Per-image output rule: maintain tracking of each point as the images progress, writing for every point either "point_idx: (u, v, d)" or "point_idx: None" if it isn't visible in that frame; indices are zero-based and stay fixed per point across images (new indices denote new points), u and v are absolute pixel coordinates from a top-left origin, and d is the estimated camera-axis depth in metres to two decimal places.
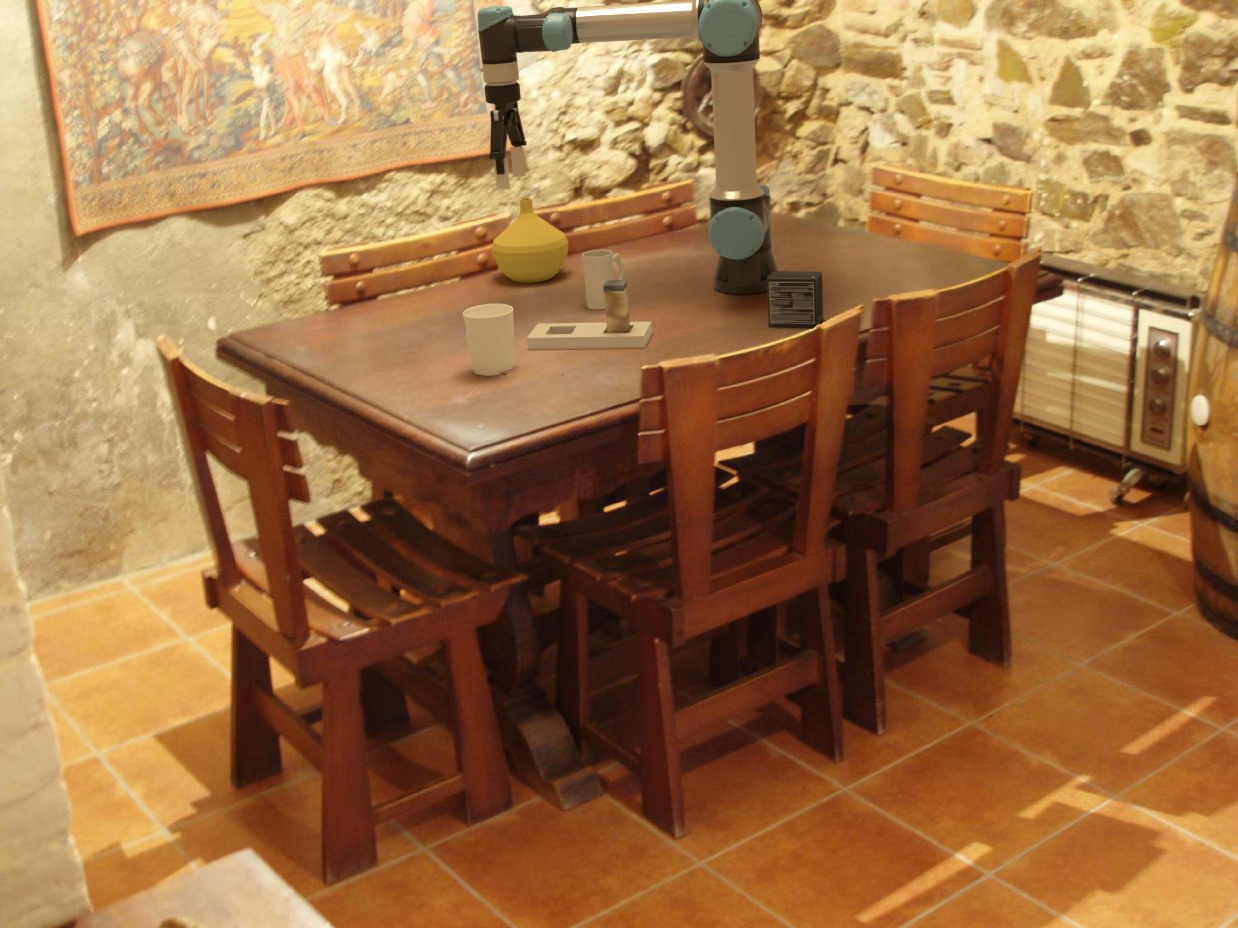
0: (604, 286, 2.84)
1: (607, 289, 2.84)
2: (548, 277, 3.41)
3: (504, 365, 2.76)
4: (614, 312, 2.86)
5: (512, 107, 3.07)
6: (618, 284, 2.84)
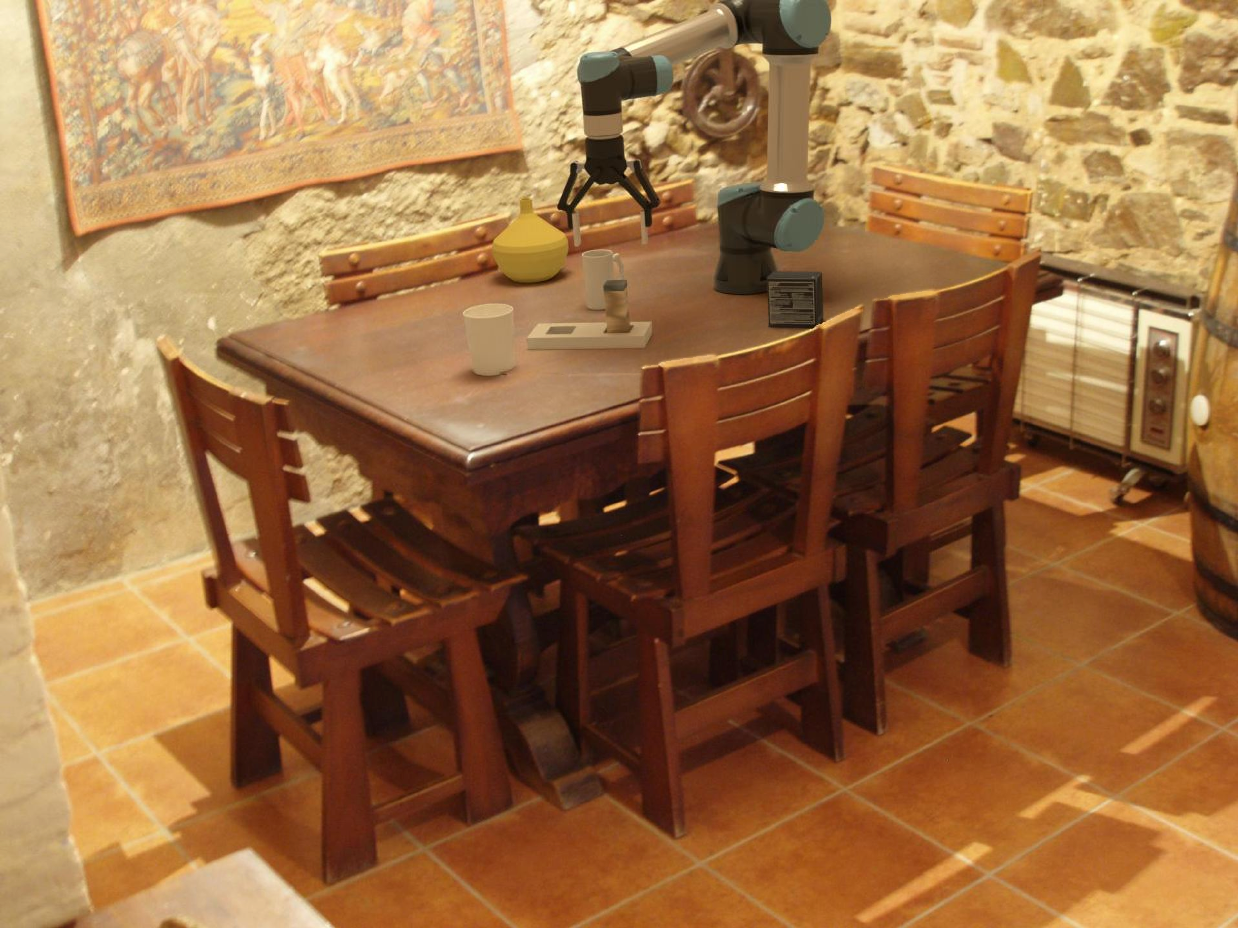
0: (604, 286, 2.84)
1: (607, 289, 2.84)
2: (548, 277, 3.41)
3: (504, 365, 2.76)
4: (614, 312, 2.86)
5: (618, 165, 2.75)
6: (618, 284, 2.84)
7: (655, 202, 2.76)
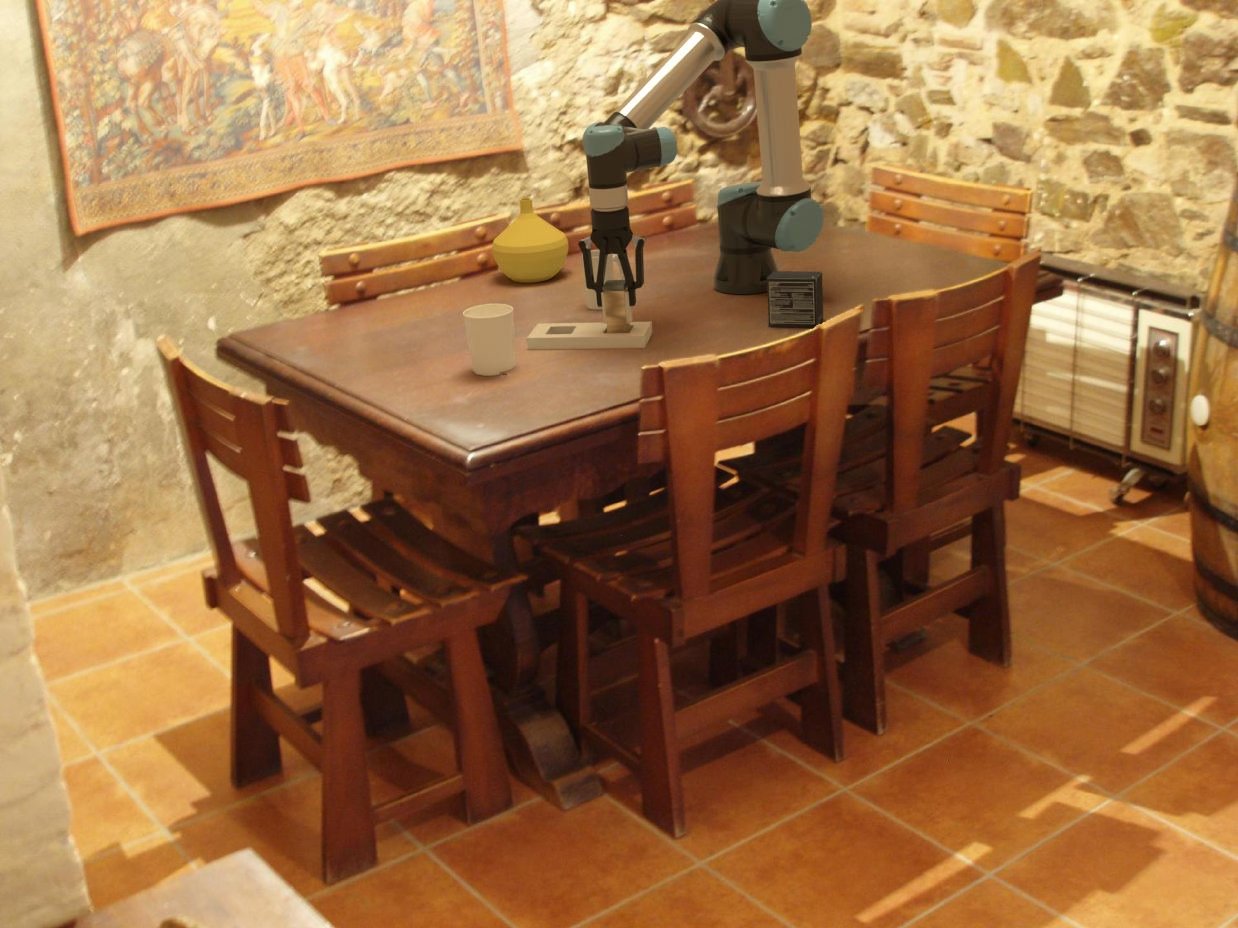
0: (604, 286, 2.84)
1: (607, 289, 2.84)
2: (548, 277, 3.41)
3: (504, 365, 2.76)
4: (614, 312, 2.86)
5: (624, 235, 2.80)
6: (618, 284, 2.84)
7: (640, 283, 2.83)
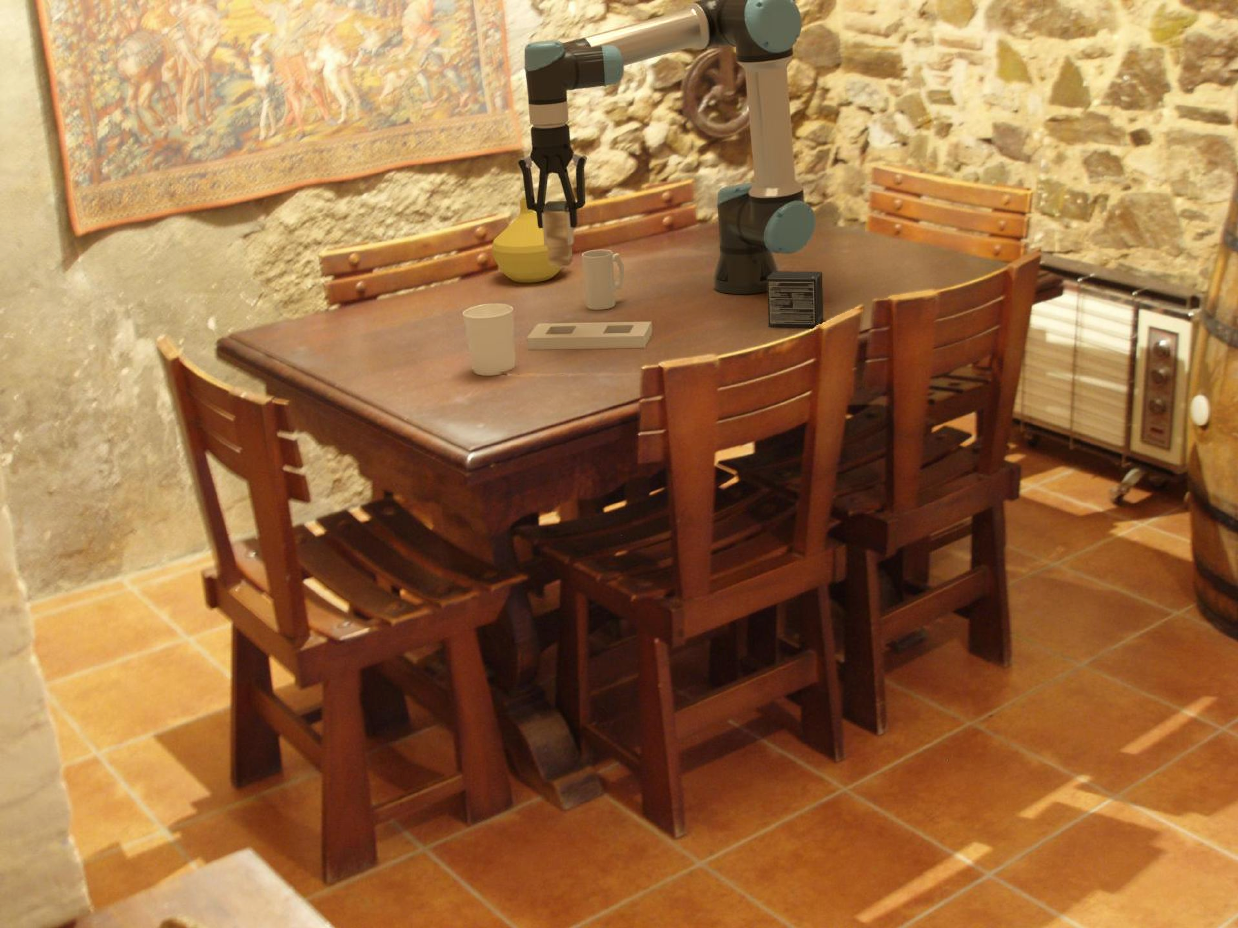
0: (545, 206, 2.80)
1: (548, 209, 2.80)
2: (548, 277, 3.41)
3: (504, 365, 2.76)
4: (554, 233, 2.81)
5: (565, 153, 2.76)
6: (559, 204, 2.80)
7: (581, 203, 2.79)
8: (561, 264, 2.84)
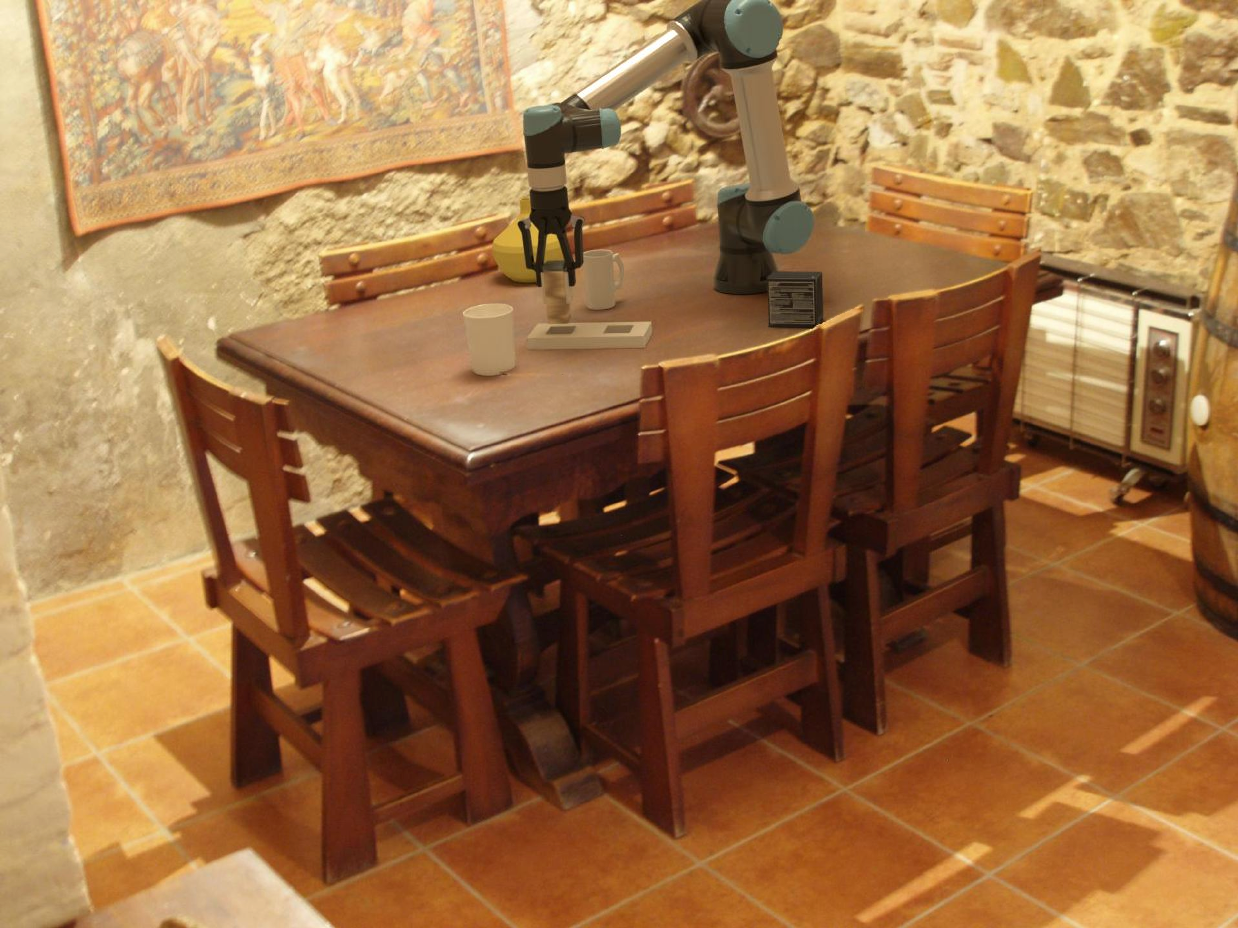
0: (543, 266, 2.85)
1: (546, 269, 2.85)
2: None
3: (504, 365, 2.76)
4: (553, 292, 2.86)
5: (563, 215, 2.81)
6: (557, 264, 2.85)
7: (579, 263, 2.84)
8: (560, 322, 2.89)
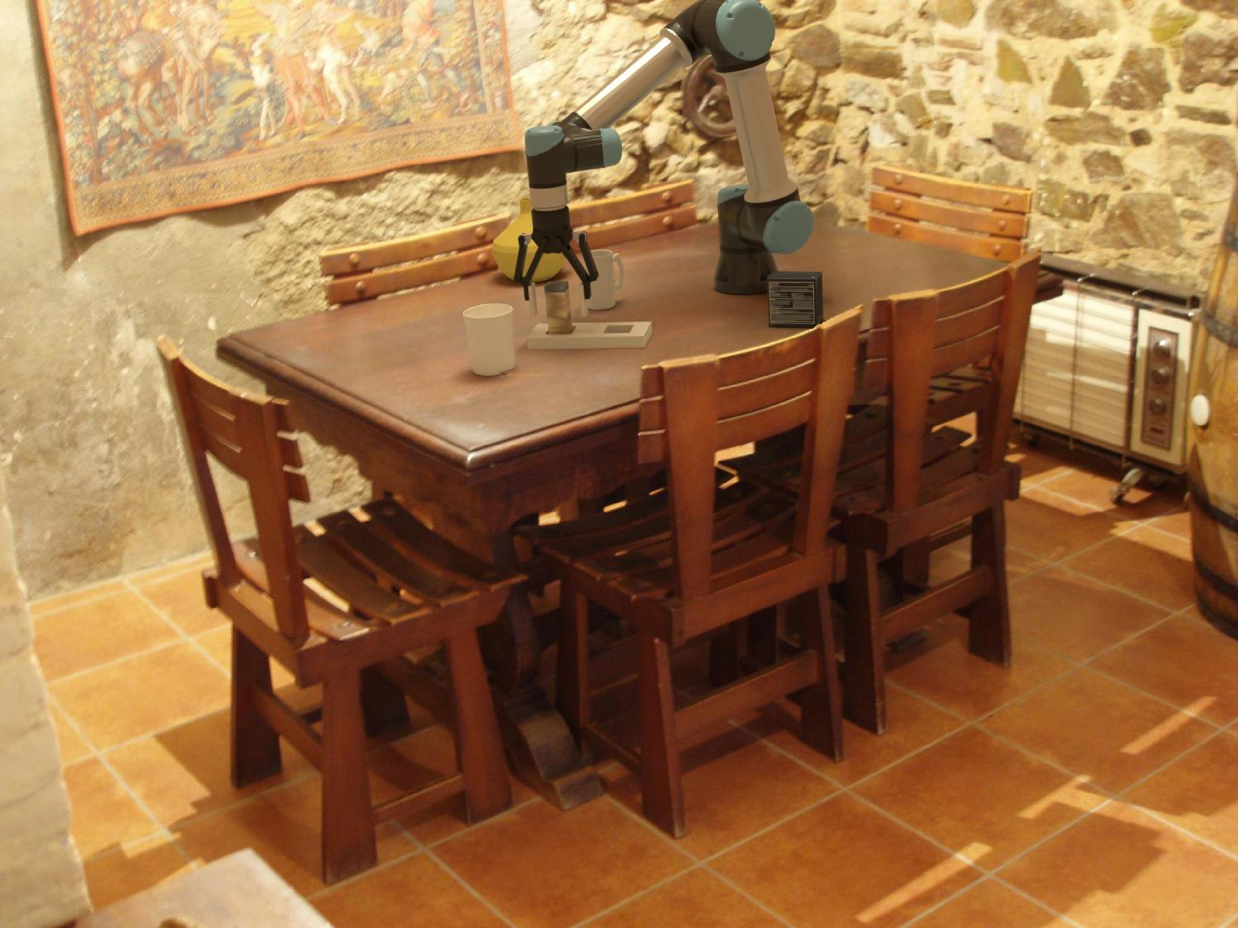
0: (545, 287, 2.86)
1: (548, 290, 2.86)
2: (548, 277, 3.41)
3: (504, 365, 2.76)
4: (555, 313, 2.88)
5: (564, 234, 2.82)
6: (559, 285, 2.86)
7: (594, 276, 2.84)
8: None
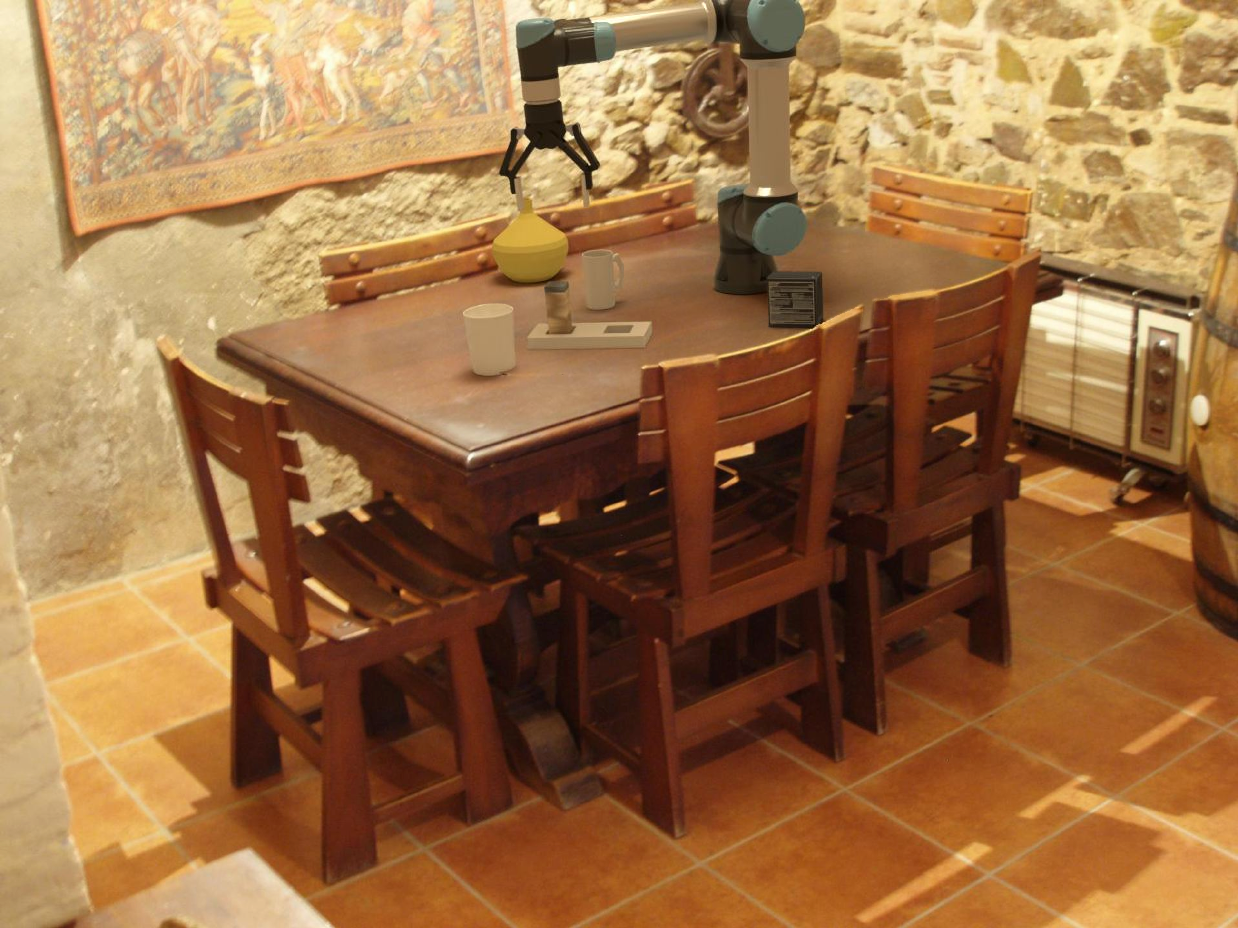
0: (545, 287, 2.86)
1: (548, 290, 2.86)
2: (548, 277, 3.41)
3: (504, 365, 2.76)
4: (555, 313, 2.88)
5: (557, 129, 2.81)
6: (559, 285, 2.86)
7: (595, 165, 2.83)
8: None
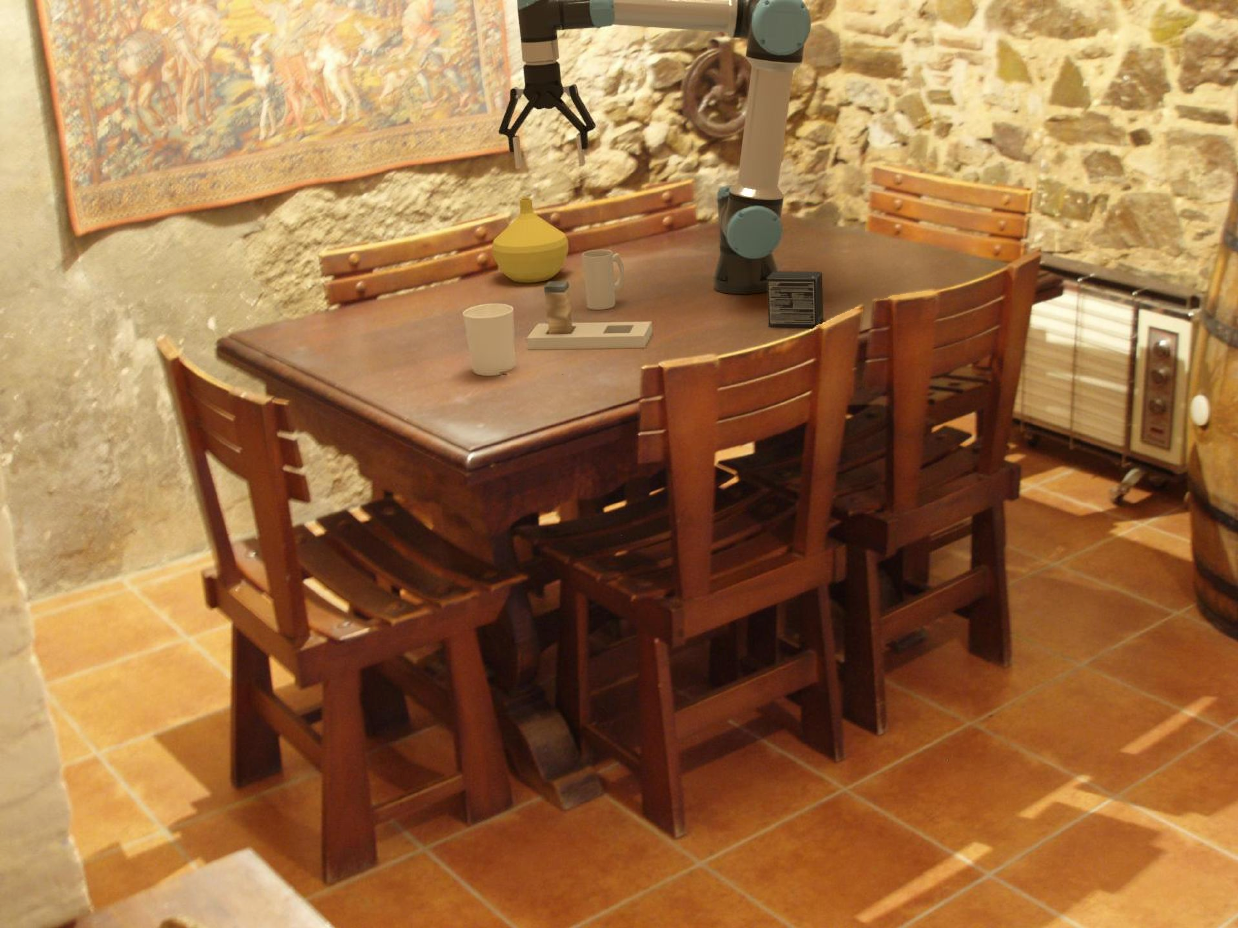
0: (545, 287, 2.86)
1: (548, 290, 2.86)
2: (548, 277, 3.41)
3: (504, 365, 2.76)
4: (555, 313, 2.88)
5: (555, 90, 2.92)
6: (559, 285, 2.86)
7: (590, 125, 2.93)
8: None
